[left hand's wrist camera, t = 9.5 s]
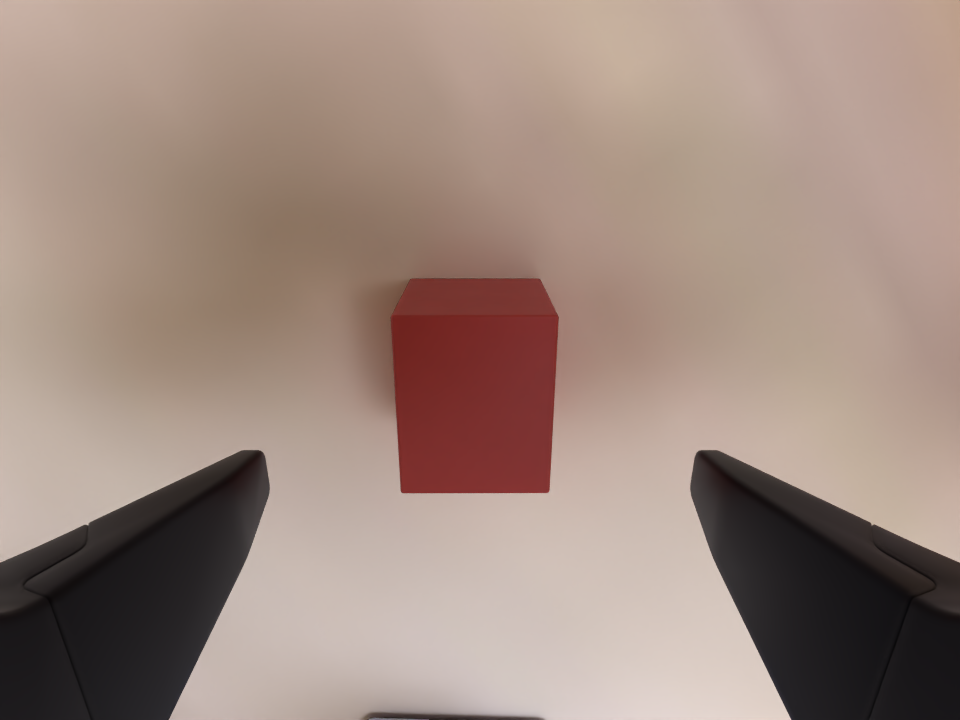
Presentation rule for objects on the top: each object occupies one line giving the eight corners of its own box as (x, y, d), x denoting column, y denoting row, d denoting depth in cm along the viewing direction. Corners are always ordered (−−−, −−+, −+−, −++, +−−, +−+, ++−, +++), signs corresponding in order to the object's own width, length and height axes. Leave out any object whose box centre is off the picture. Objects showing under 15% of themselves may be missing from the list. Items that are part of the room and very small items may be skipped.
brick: (534, 423, 19) (549, 494, 15) (416, 424, 19) (400, 494, 15) (540, 278, 17) (559, 315, 13) (409, 278, 17) (389, 315, 13)
